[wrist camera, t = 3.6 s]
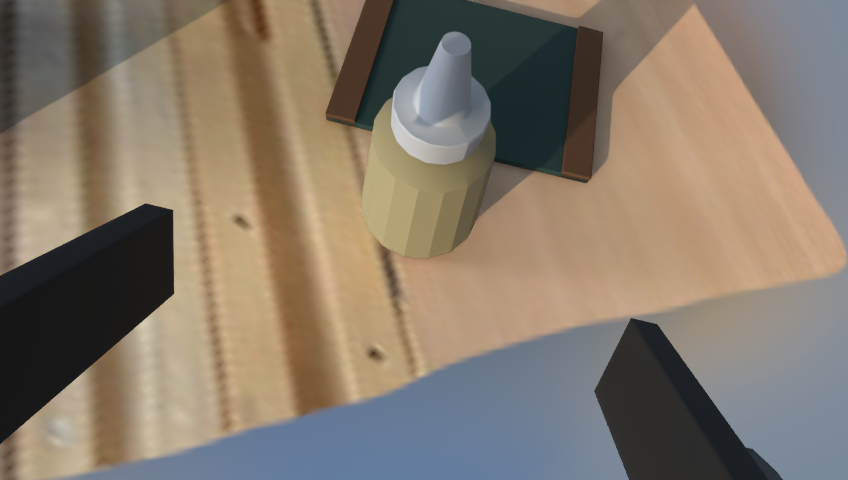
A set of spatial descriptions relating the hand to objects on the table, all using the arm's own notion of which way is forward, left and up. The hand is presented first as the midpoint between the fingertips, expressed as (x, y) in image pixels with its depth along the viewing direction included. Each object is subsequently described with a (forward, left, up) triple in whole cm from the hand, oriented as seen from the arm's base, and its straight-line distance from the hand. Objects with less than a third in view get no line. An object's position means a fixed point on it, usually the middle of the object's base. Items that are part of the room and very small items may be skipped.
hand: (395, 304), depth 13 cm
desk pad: (+2, +25, -18) cm, 32 cm away
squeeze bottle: (0, +10, -19) cm, 21 cm away
